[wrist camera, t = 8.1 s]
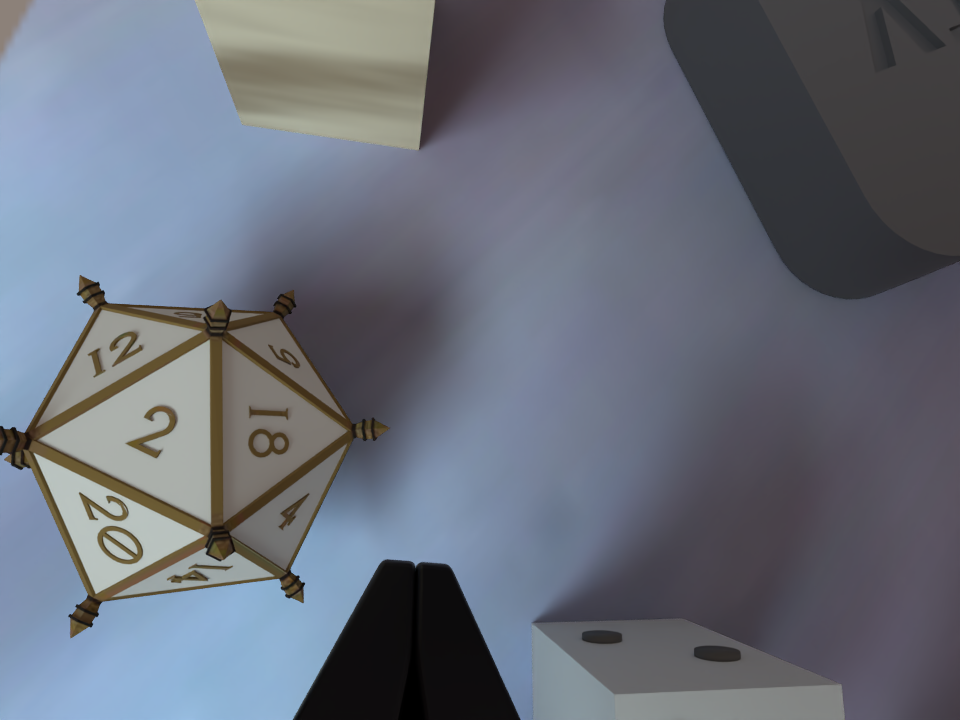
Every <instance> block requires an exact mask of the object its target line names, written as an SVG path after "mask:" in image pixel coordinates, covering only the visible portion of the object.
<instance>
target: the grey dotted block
mask: <svg viewBox="0 0 960 720" xmlns="http://www.w3.org/2000/svg"><path fill="white" fill-rule="evenodd" d="M532 681H533V720H845V716H844V706H843V695H842V684H839V683H837V682H834V681H832V680H830V679H827V678H825V677H822V676H820V675H818V674H815V673H813V672H810V671H808V670H806V669H803V668H801V667H798V666H796V665H794V664H791V663H789V662H786V661H784V660H782V659H779V658H777V657H774V656H772V655H770V654H767V653H765V652H762V651H760V650H758V649H755V648H753V647H750V646H748V645H746V644H743V643H741V642H738V641H736V640H734V639H731V638H729V637H726V636H724V635H722V634H719V633H717V632H714V631H712V630H710V629H707V628H705V627H702V626H700V625H698V624H695V623H693V622H690V621H688V620H686V619H683V618H682V619H647V620H612V621H578V622H543V623H532Z"/></svg>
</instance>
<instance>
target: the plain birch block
mask: <svg viewBox="0 0 960 720" xmlns="http://www.w3.org/2000/svg"><path fill="white" fill-rule="evenodd" d="M195 2H196V4H197V7H198V10H199V12H200V15H201V18H202V20H203V23H204V26H205V28H206V31H207V33H208V36H209V39H210V41H211V44H212V47H213V49H214V52H215V54H216V57H217V60H218V62H219V65H220V68H221V70H222V73H223V76H224V78H225V81H226V83H227V86H228V89H229V91H230V94H231V97H232V99H233V102H234V104H235V107H236V110H237V112H238V115H239V118H240V120H241V123H242V125H247V126H254V127H261V128H268V129H275V130H282V131H288V132H295V133H302V134H309V135H316V136H323V137H330V138H337V139H344V140H350V141H357V142H364V143H371V144H378V145H385V146H392V147H399V148H406V149H412V150H419V144H420V135H421V126H422V117H423V108H424V99H425V90H426V81H427V72H428V63H429V54H430V45H431V36H432V27H433V18H434V9H435V0H195Z"/></svg>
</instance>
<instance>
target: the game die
mask: <svg viewBox="0 0 960 720" xmlns="http://www.w3.org/2000/svg"><path fill="white" fill-rule="evenodd" d="M99 286H100V284H99V282H97V283H96V282H93V281H91V280H89V279H87V278H85V277H83V276H81V275H80V279H79V292H78V293H77V295H78V296H79V295H81V296H82V298H83V299H84V301H83V303H84V304H85V303H87V304H89V305H90V306H91V307H93V309H94V312H93V314H92V316H91V317H90V319H89V321H88V323H87V324H86V326H85V328H84V330H83V332H82V333H81V335H80V337H79V339H78V340H77V342H76V344H75V346H74V347H73V349H72V351H71V353H70V354H69V356H68V358H67V360H66V361H65V363H64V365H63V367H62V368H61V370H60V372H59V374H58V375H57V377H56V379H55V381H54V382H53V384H52V386H51V388H50V390H49V391H48V393H47V395H46V397H45V398H44V400H43V402H42V404H41V405H40V407H39V409H38V411H37V412H36V414H35V416H34V418H33V419H32V421H31V423H30V425H29V426H28V428H27V430H26V432H25V433H22V432H19V431H17V430H16V428H15V427H12V428H11V429H10V430H9V429H4V428H3V426H0V455H2V453H9V454H10V455H9V456H8V457H6V458H5V459H4V460H5V461H7V462H9V463H11V465H12V466H14V467H16V468H18V469H20V470H22V469H23V467H27V468H31V469H32V471H33V473H34V476H35V478H36V480H37V482H38V485H39V487H40V489H41V491H42V493H43V496H44V498H45V500H46V502H47V505H48V507H49V509H50V511H51V513H52V516H53V518H54V520H55V522H56V524H57V527H58V529H59V531H60V533H61V536H62V538H63V540H64V542H65V544H66V547H67V549H68V551H69V553H70V556H71V558H72V560H73V562H74V564H75V567H76V569H77V571H78V573H79V576H80V578H81V580H82V582H83V584H84V587H85V589H86V591H87V593H88V596H87V599H86V600H85V601H83V602H82V603H81V604H80V605H76V606H75V607H76V608H77V609H76V610H75V612H74V613H73V614H72V615H71V614H70V615H69V616H68V617H70V618H71V620H70V638H72V637H74V636H75V635H77V634H78V633H80V632H81V631H83V630H85V629H86V628H88V627H92V625H93V623H92V621H93V620H94V618H95V616H96V617H98V615H99V613H98V609H99V606H100V604H101V603H102V602H103V601H111V600H118V599H126V598H134V597H141V596H149V595H157V594H164V593H172V592H180V591H188V590H195V589H203V588H211V587H218V586H226V585H234V584H241V583H249V582H257V581H265V580H272V579H280V582H281V585H282V587H281V589H282V590H284V591H285V593H286V595H285V596H286V597H287V598H293V599H295V600H298V601H300V602H302V603H304V593H303V587H304V585H305V583H304V582H303V583H301V581H300V580H299V578H300V577H299V575H298V576H295V575H294V574H293V573H291V570H290V569H291V566H292V564H293V562H294V560H295V558H296V556H297V554H298V552H299V550H300V548H301V546H302V544H303V542H304V540H305V538H306V536H307V534H308V531H309V529H310V527H311V525H312V523H313V521H314V519H315V517H316V515H317V513H318V511H319V509H320V507H321V505H322V503H323V501H324V498H325V496H326V494H327V492H328V490H329V488H330V486H331V484H332V482H333V480H334V478H335V476H336V474H337V472H338V470H339V468H340V466H341V463H342V461H343V459H344V457H345V455H346V453H347V451H348V449H349V447H350V445H351V443H352V441H353V439H354V438H356V437H357V438H362V439H363V440H364V441H366V440H367V439H373V441H375V440H376V439H377V437H378V436H380V435H381V434H383V433H384V432H385V431H387V430H388V429H390V428H389V427H387V426H385V425H383V424H381V423H379V422H377V421H375V419H374V418H372V420H369V421H366V420H365V419H363V420H362V422H360V423H358V424H352V422H351V421H350V419H349V418H348V416H347V415H346V413H345V412H344V410H343V409H342V407H341V406H340V404H339V403H338V401H337V400H336V398H335V397H334V395H333V394H332V392H331V391H330V389H329V388H328V386H327V385H326V383H325V382H324V380H323V379H322V377H321V376H320V374H319V373H318V371H317V370H316V368H315V367H314V365H313V364H312V362H311V361H310V359H309V358H308V356H307V355H306V353H305V352H304V350H303V349H302V347H301V346H300V344H299V343H298V341H297V340H296V338H295V337H294V335H293V334H292V332H291V331H290V329H289V328H288V326H287V324H286V323H285V321H284V320H283V319H284V317H285V316H286V315H287V314H291V313H292V312H291V310H292V308H293V307H295V308H296V304H295V300H294V290H292V291H290V292H287V293H285V294H280V295H279V297H278V298H277V299H278V301H276V302H275V304H274V305H273V306H275V307H274V311H273V312H264V311H245V310H231V309H229V308H227V306H226V305H225V304H224V303H223V301H222V300H220V301H218V302H217V303H215V304H214V305H212V306H209V307H207V308H187V307H168V306H149V305H129V304H110V303H107V302H106V301H105V298H104V295H105V292H104V290H103V291H101V289H100V287H99Z"/></svg>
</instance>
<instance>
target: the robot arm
mask: <svg viewBox="0 0 960 720" xmlns="http://www.w3.org/2000/svg"><path fill="white" fill-rule="evenodd" d="M293 720H520V717H519V715H518V713H517V711H516V709H515V706H514V704H513V702H512V700H511V698H510V695H509V693H508V691H507V689H506V687H505V684H504V682H503V680H502V678H501V676H500V673H499V671H498V669H497V667H496V665H495V662H494V660H493V658H492V656H491V654H490V651H489V649H488V647H487V645H486V643H485V640H484V638H483V636H482V634H481V632H480V629H479V627H478V625H477V623H476V621H475V618H474V616H473V614H472V612H471V609H470V607H469V605H468V603H467V601H466V598H465V596H464V594H463V592H462V590H461V587H460V585H459V583H458V581H457V579H456V576H455V574H454V572H453V570H452V569H451V567H450V566H449V565H447V564H441V563H428V562H421V563H419V564H417V566H416V569H415V564H414V563H413V562H411V561H402V560H389V559H387V560H384V561H382V562H381V563H380V564H379V566H378V568H377V570H376V571H375V573H374V575H373V577H372V579H371V580H370V582H369V584H368V586H367V588H366V589H365V591H364V593H363V595H362V596H361V598H360V600H359V602H358V604H357V605H356V607H355V609H354V611H353V613H352V614H351V616H350V618H349V620H348V622H347V623H346V625H345V627H344V629H343V631H342V632H341V634H340V636H339V638H338V640H337V641H336V643H335V645H334V647H333V649H332V650H331V652H330V654H329V656H328V657H327V659H326V661H325V663H324V665H323V666H322V668H321V670H320V672H319V674H318V675H317V677H316V679H315V681H314V683H313V684H312V686H311V688H310V690H309V692H308V693H307V695H306V697H305V699H304V701H303V702H302V704H301V706H300V708H299V710H298V711H297V713H296V715H295V717H294V718H293Z"/></svg>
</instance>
